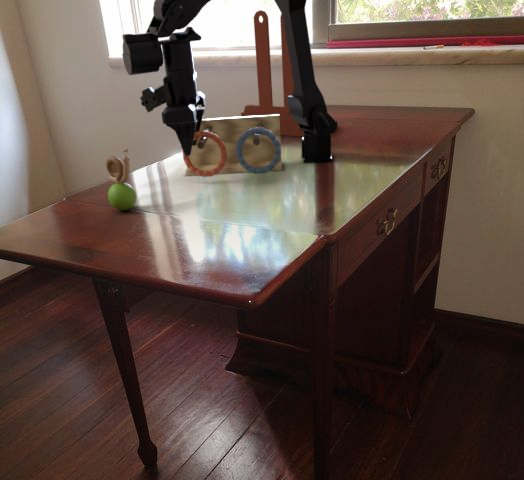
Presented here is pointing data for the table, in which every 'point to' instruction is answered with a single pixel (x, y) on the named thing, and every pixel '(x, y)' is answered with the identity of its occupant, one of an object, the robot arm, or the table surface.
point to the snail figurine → (120, 183)
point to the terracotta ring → (222, 161)
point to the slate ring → (269, 135)
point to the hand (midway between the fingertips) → (190, 150)
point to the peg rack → (229, 131)
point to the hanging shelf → (264, 78)
